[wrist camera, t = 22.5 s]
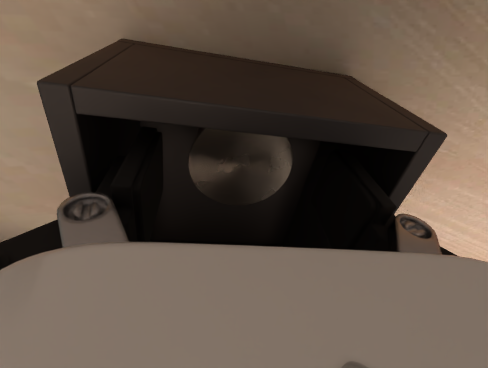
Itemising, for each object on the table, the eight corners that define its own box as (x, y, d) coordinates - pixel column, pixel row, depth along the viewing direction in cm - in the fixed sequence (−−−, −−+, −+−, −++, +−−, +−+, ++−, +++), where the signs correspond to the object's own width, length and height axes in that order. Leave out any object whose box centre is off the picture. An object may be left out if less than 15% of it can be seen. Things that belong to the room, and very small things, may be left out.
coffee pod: (195, 81, 14) (190, 108, 10) (285, 94, 14) (306, 123, 11) (191, 161, 16) (186, 202, 13) (266, 168, 17) (278, 208, 14)
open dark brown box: (121, 38, 13) (34, 80, 7) (351, 75, 15) (449, 134, 9) (140, 238, 21) (110, 340, 15) (286, 243, 23) (313, 334, 17)
